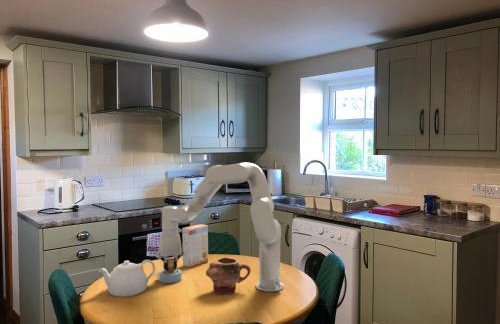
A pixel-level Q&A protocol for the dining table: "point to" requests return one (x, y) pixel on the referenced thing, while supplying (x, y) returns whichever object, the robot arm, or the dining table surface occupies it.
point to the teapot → (127, 279)
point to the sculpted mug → (226, 274)
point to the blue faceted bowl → (169, 277)
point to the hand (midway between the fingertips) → (170, 269)
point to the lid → (170, 267)
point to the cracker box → (195, 245)
